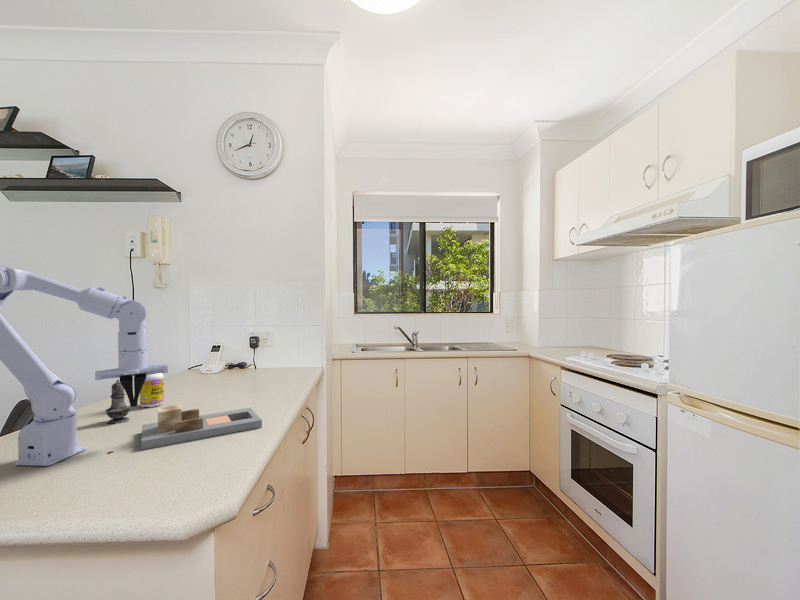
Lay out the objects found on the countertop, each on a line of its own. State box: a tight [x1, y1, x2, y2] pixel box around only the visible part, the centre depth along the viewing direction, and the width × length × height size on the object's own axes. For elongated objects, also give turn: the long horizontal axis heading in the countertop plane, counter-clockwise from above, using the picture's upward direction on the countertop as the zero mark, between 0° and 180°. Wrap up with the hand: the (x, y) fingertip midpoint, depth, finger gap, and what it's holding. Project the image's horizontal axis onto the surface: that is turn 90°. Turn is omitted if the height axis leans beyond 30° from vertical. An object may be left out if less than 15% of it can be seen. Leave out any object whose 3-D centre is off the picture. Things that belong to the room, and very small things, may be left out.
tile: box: [206, 415, 231, 425], centre depth 105 cm, size 6×7×2 cm
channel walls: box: [175, 408, 203, 433], centre depth 101 cm, size 6×10×2 cm, turn 33°
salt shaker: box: [105, 379, 132, 425], centre depth 112 cm, size 6×6×12 cm
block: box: [157, 404, 182, 433], centre depth 99 cm, size 5×5×5 cm
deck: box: [140, 407, 263, 451], centre depth 103 cm, size 27×14×2 cm, turn 123°
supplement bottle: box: [139, 373, 165, 408], centre depth 128 cm, size 7×7×13 cm
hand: (133, 405), depth 95 cm, fingers closed
